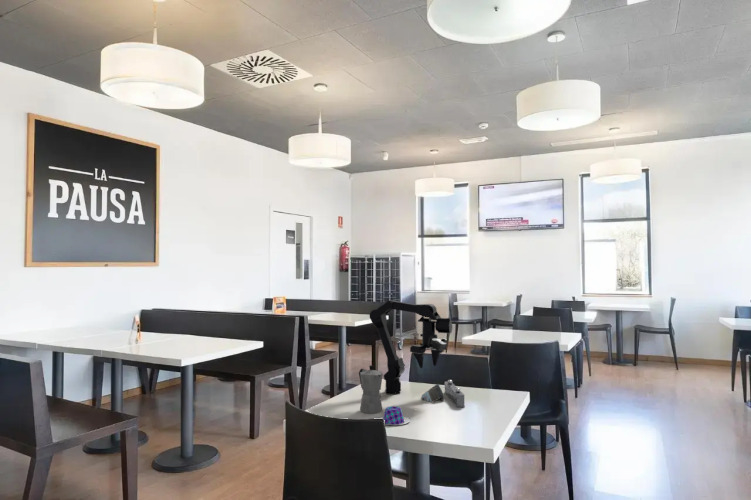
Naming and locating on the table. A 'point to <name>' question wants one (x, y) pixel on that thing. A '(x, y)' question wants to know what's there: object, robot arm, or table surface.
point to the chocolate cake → (433, 394)
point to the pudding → (394, 416)
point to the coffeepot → (371, 390)
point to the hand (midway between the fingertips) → (428, 366)
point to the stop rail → (454, 394)
